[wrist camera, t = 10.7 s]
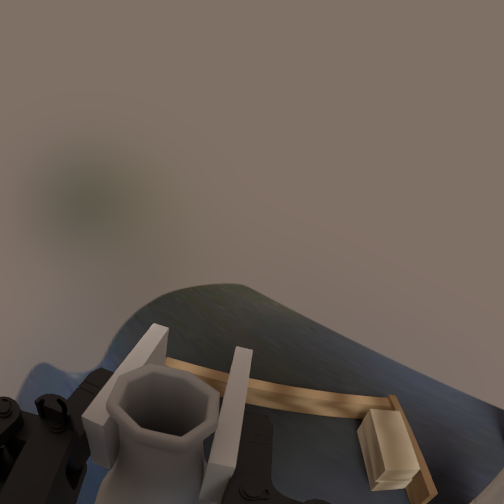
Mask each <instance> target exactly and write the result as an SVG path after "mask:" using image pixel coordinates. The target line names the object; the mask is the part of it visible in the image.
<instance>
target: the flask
mask: <svg viewBox="0 0 504 504" xmlns="http://www.w3.org/2000/svg"><path fill="white" fill-rule="evenodd" d="M219 398H220V392H218V391H217V390H215V389H214V388H212V387H211V386H209V385H208V384H206V383H205V382H204V381H202V380H201V379H199V378H198V377H196V376H195V375H194V374H192V373H191V372H189V371H185V370H180V369H175V368H171V367H166V366H162V365H158V364H154V363H149V364H147V365H144V366H142V367H139V368H137V369H135V370H132V371H130V372H127V373H125V374H122V375H120V376H119V377H118V379H117V381H116V383H115V385H114V387H113V389H112V391H111V394H110V396H109V398H108V400H107V402H106V410H107V412H108V414H109V415H110V416H111V417H112V418H113V419H114V420H115V422H116V423H117V424H118V425H119V437H120V448H119V453H118V458H117V460H116V462H115V464H114V466H113V468H112V470H110V471H109V472H108V473H107V475H106V476H105V478H104V479H103V481H102V482H101V484H100V487H99V491H98V494H97V497H96V500H95V503H94V504H218V503H213V502H209V501H204V500H200V499H199V495H200V491H201V487H202V483H203V479H204V475H205V471H206V467H207V463H206V461H205V457H204V447H203V441H204V439H205V438H207V437H208V436H209V435H211V434H212V433H213V432H215V430H216V429H217V427H218V420H219Z"/></svg>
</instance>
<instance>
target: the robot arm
mask: <svg viewBox="0 0 504 504" xmlns="http://www.w3.org/2000/svg"><path fill="white" fill-rule="evenodd" d="M168 331H169V328H167V327H164V326H161V325H158V324H154V323H153V325H152V326H151V327H150V328H149V330H148V331H147V332H146V333H145V335H144V336H143V337H142V338H141V340H140V341H139V342H138V343H137V345H136V346H135V347H134V348H133V350H132V351H131V352H130V354H129V355H128V356H127V357H126V359H125V360H124V361H123V362H122V364H121V365H120V366H119V368H118V369H117V370H116V371H115V373H113V372H111V371H108V370H106V369H103V368H99V369H97V370H95V371H93V372H91V373H90V374H89V375H88V376H87V377H86V379H85V380H84V382H82V383H81V384H80V385H79V388H77V389H76V390H75V391H74V392H73V394H72V395H71V396H70V397H69V398H68V399H67V400H66V399H65V398H63V397H61V396H60V395H55V394H45V395H42V396H40V397H38V398H37V399H36V400H35V404H36V407H37V411H38V414H39V415H35V414H32V413H28V412H25V411H22V410H20V408H19V405H18V404H17V402H16V401H15V400H13V399H11V398H9V397H0V504H76V502H77V498H78V495H79V492H80V489H81V486H82V483H83V480H84V477H85V474H86V471H87V464H86V461H87V459H88V458H89V456H90V454H91V458H92V461H93V462H94V463H96V464H99V465H101V466H103V467H105V468H108V469H110V470H112V468H113V466H114V464H115V462H116V460H117V458H118V453H119V448H120V437H119V425H118V424H117V423H116V422H115V420H114V419H113V418H112V417H111V416H110V415H109V414H108V412H107V410H106V402H107V400H108V398H109V396H110V394H111V391H112V389H113V387H114V385H115V383H116V381H117V379H118V377H119V376H120V375H122V374H125V373H127V372H130V371H132V370H135V369H137V368H139V367H142V366H144V365H147V364H149V363H154V364H158V365H162V366H165V358H166V348H167V339H168ZM252 353H253V350H251V349H246V348H242V347H238V346H236V350H235V354H234V358H233V362H232V366H231V370H230V374H229V378H228V381H227V385H226V389H225V394H224V398H223V402H222V406H221V410H220V414H219V420H218V427H217V429H216V431H215V435H214V439H213V443H212V447H211V451H210V455H209V459H208V463H207V467H206V471H205V475H204V479H203V483H202V487H201V491H200V495H199V499H200V500H204V501H209V502H213V503H218V504H330V503H328V502H326V501H324V500H319V499H312V500H307V501H305V502H304V503H302V502H299V501H296V500H293V499H291V498H288V497H286V496H284V495H282V494H281V493H279V492H278V491H277V490H276V489H275V488H274V486H273V484H272V482H271V463H272V437H273V425H272V423H271V421H270V419H269V417H268V416H265V415H260V414H255V413H250V412H245V411H244V408H245V402H246V395H247V388H248V381H249V374H250V367H251V360H252Z"/></svg>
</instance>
